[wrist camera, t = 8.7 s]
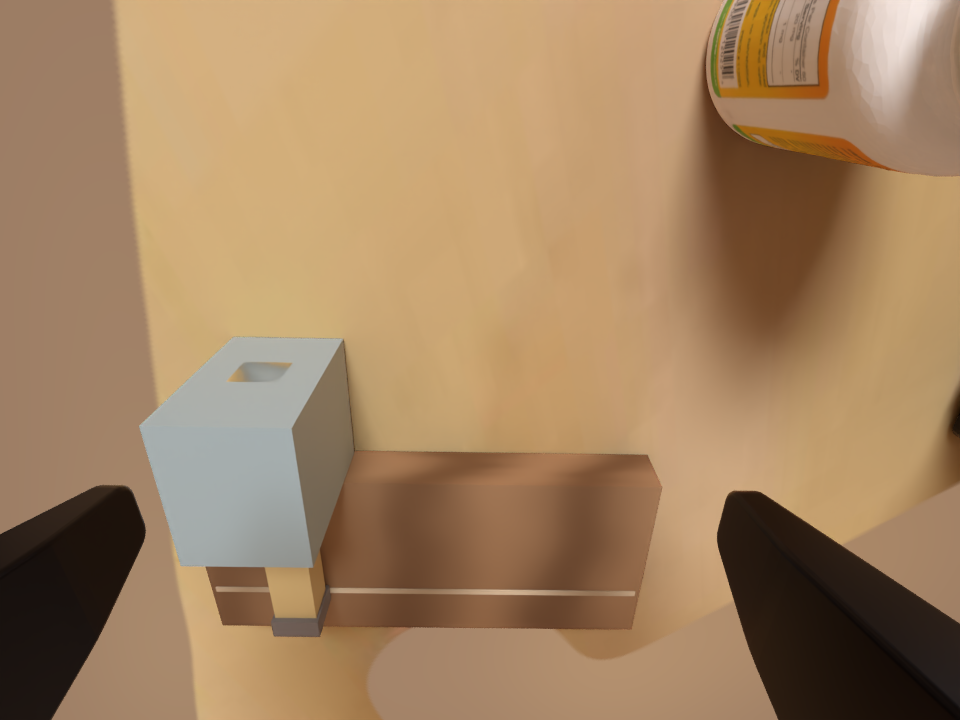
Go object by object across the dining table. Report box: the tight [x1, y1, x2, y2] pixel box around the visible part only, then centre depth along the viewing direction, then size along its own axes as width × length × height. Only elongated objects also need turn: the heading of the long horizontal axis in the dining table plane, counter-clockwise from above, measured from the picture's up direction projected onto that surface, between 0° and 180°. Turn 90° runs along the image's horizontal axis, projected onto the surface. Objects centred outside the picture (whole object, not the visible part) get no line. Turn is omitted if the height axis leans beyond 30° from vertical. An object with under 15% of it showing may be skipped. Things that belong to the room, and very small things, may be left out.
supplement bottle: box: [706, 0, 960, 176], centre depth 11 cm, size 5×5×10 cm
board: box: [206, 451, 662, 629], centre depth 23 cm, size 18×8×2 cm, turn 89°
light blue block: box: [139, 337, 354, 637], centre depth 19 cm, size 4×11×6 cm, turn 179°
